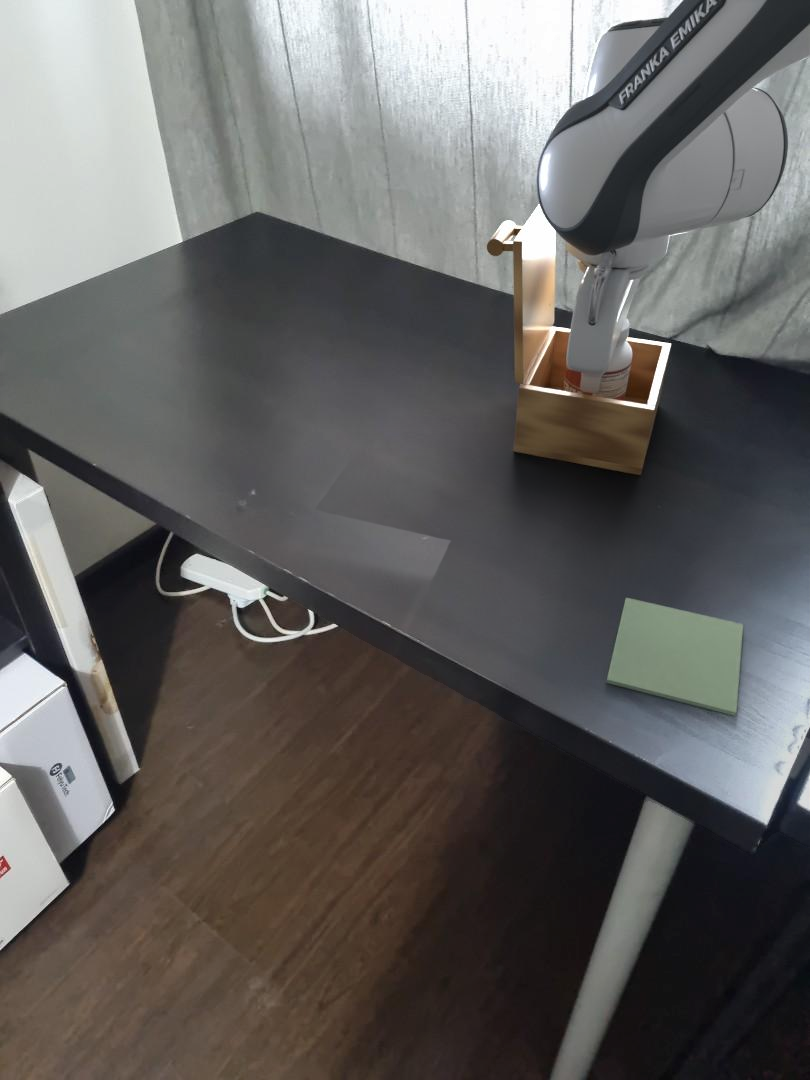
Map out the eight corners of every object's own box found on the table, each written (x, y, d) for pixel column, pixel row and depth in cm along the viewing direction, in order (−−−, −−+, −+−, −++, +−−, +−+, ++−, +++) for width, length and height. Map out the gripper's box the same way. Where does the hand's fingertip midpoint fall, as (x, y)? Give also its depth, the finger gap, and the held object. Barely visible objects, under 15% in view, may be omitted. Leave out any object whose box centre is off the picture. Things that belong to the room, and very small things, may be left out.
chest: (658, 405, 89) (671, 343, 84) (640, 475, 80) (654, 410, 75) (543, 386, 93) (550, 325, 88) (513, 451, 83) (518, 387, 78)
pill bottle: (551, 408, 88) (563, 310, 80) (607, 402, 88) (623, 304, 81) (570, 440, 83) (584, 339, 76) (628, 434, 84) (648, 333, 76)
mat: (742, 627, 64) (743, 624, 64) (735, 716, 58) (736, 712, 58) (625, 600, 67) (625, 597, 66) (606, 682, 60) (606, 679, 60)
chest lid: (556, 190, 79) (511, 190, 81) (522, 241, 69) (471, 240, 71) (554, 322, 87) (513, 319, 89) (523, 383, 78) (478, 380, 79)
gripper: (637, 281, 65) (611, 430, 74) (668, 197, 79) (643, 330, 88) (558, 271, 66) (542, 418, 75) (602, 191, 81) (584, 322, 90)
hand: (597, 370), depth 82 cm, fingers closed on pill bottle, 6 cm apart
